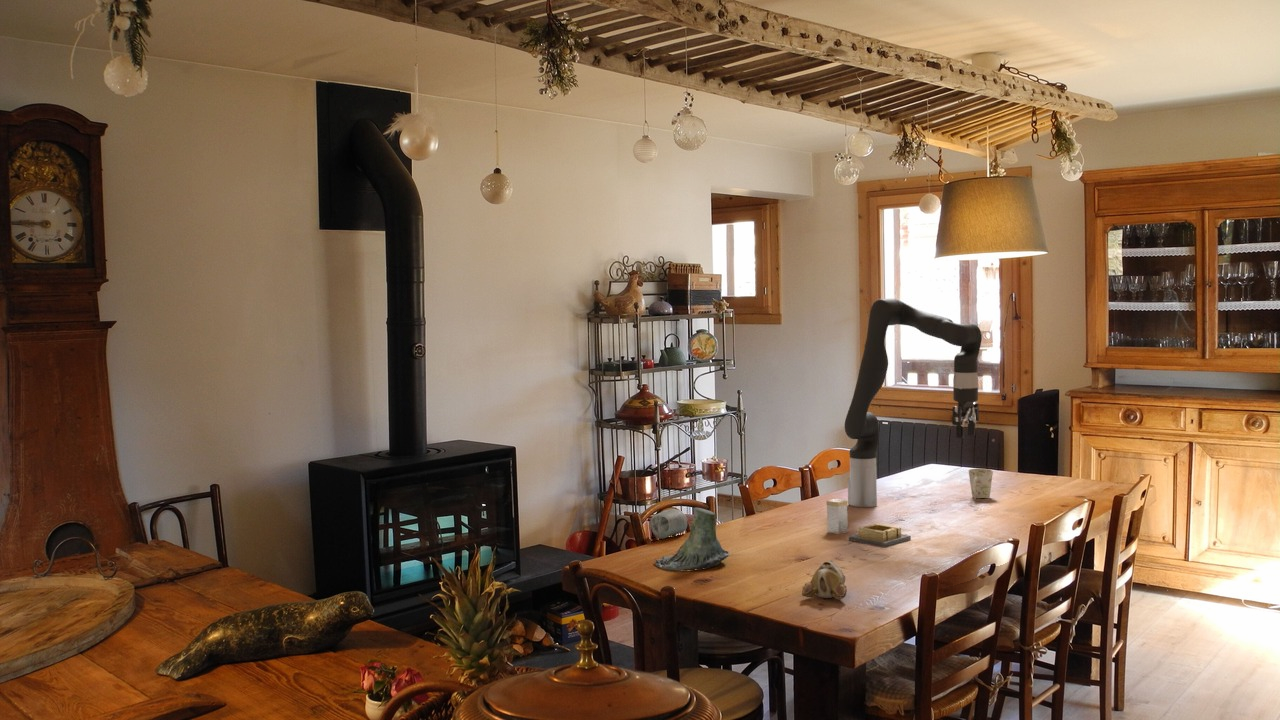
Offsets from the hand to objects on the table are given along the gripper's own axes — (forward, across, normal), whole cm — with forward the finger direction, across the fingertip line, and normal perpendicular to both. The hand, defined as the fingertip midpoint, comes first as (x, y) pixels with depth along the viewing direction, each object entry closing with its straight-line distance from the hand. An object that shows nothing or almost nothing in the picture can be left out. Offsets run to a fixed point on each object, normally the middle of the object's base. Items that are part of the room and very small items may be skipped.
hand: (965, 436), depth 313 cm
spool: (+29, +70, -66) cm, 100 cm away
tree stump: (+29, +91, -39) cm, 103 cm away
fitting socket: (+28, +36, -11) cm, 47 cm away
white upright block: (+28, +34, -27) cm, 52 cm away
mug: (+29, -43, -14) cm, 54 cm away
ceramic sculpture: (+28, +96, +8) cm, 100 cm away
